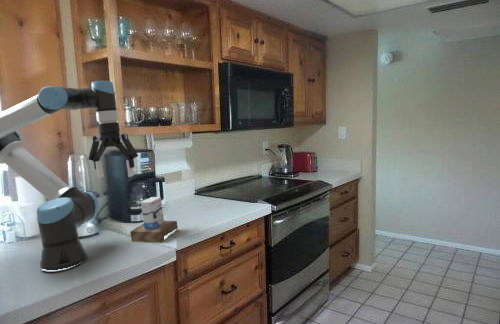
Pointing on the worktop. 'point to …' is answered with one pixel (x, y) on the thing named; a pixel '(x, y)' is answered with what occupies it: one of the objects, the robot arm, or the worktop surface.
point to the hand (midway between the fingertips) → (115, 176)
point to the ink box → (152, 212)
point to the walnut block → (153, 232)
